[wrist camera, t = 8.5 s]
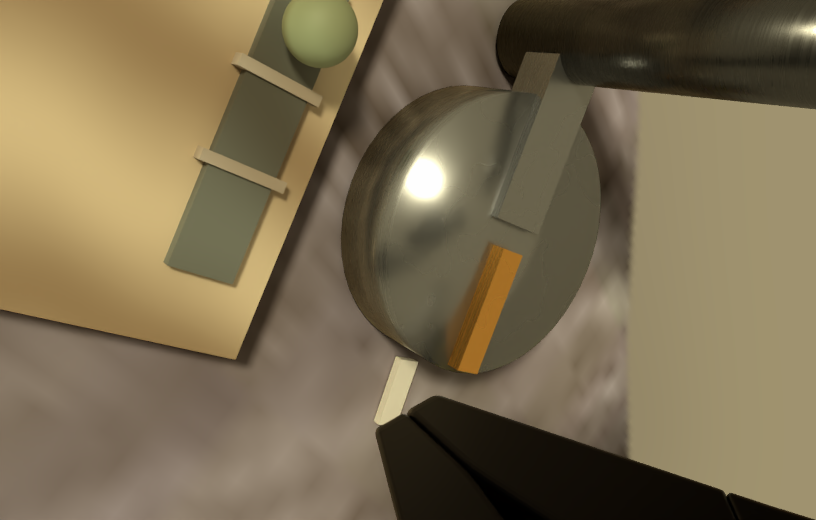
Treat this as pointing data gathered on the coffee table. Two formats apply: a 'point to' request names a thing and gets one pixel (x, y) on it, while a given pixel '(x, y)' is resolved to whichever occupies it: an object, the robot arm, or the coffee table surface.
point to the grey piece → (537, 164)
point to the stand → (162, 155)
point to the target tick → (396, 389)
